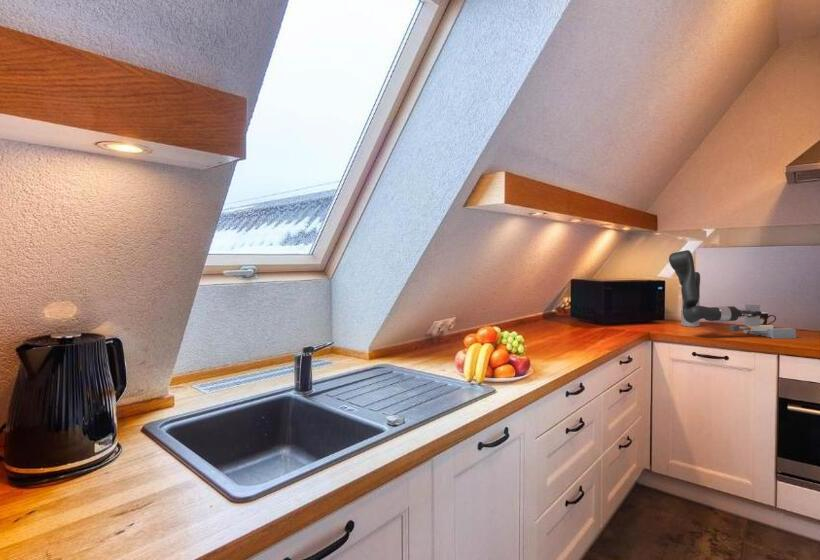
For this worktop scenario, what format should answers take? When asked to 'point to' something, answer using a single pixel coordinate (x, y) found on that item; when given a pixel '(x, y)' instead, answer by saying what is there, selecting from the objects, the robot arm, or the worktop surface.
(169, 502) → the worktop surface
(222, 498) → the worktop surface
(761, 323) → the coffee mug
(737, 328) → the vise jaw
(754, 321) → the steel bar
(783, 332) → the vise
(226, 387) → the worktop surface
